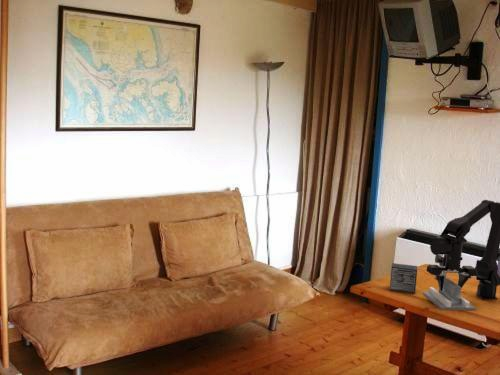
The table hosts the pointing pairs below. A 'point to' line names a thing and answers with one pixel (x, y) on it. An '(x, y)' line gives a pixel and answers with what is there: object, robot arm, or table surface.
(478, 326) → the table surface
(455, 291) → the long grey rectangular beam
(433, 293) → the sliding track
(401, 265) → the small box
